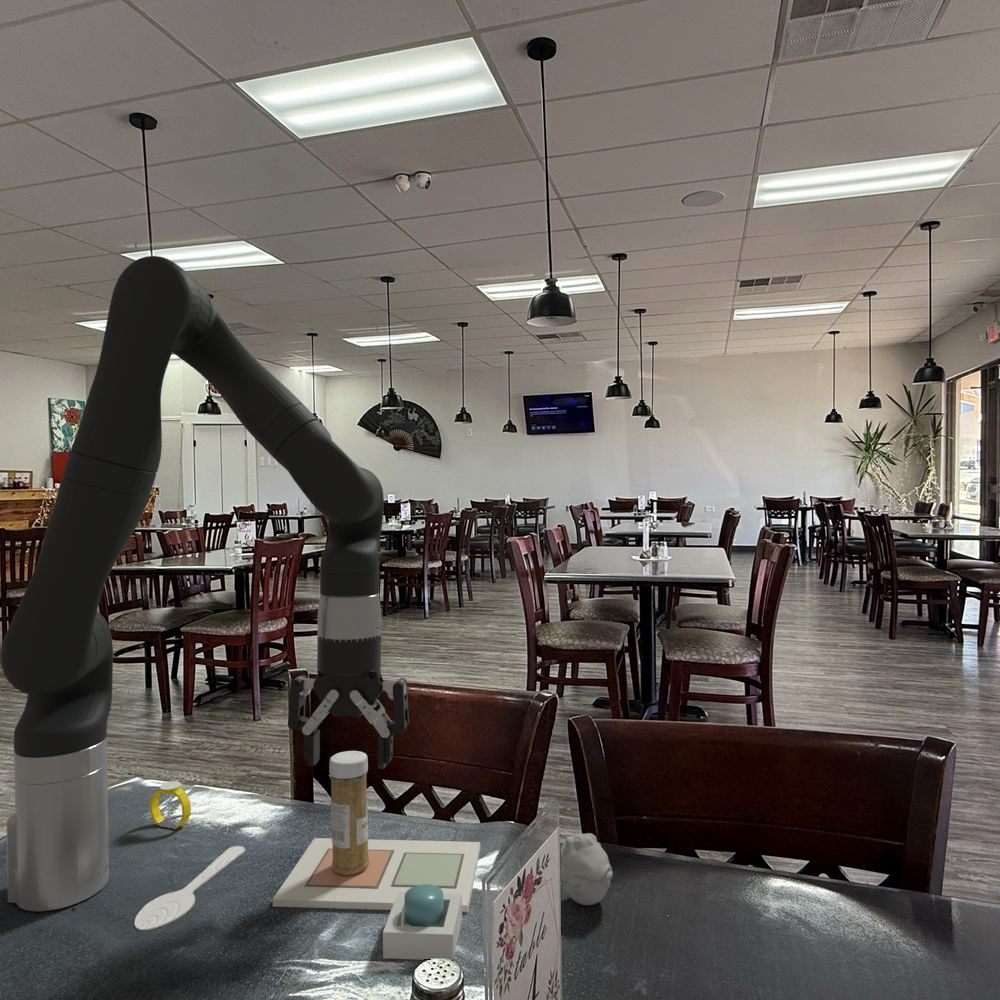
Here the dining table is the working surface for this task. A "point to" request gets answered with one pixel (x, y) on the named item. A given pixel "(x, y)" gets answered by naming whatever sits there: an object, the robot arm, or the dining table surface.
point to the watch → (177, 791)
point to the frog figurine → (585, 869)
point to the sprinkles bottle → (349, 812)
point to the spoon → (181, 896)
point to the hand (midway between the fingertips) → (348, 764)
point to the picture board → (380, 874)
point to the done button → (423, 905)
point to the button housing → (422, 932)
